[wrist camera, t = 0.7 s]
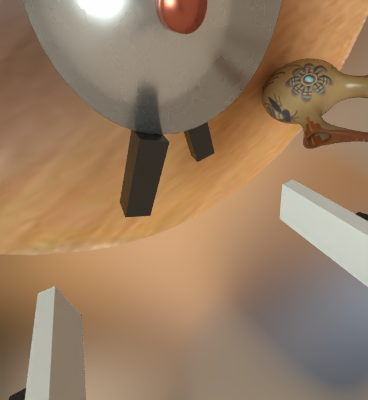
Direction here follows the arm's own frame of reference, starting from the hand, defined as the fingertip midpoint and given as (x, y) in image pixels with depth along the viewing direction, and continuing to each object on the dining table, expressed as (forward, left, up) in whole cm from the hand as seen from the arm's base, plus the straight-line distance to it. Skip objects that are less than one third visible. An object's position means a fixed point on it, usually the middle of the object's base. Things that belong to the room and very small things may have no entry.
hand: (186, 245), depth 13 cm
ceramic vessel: (-14, +31, -31) cm, 46 cm away
